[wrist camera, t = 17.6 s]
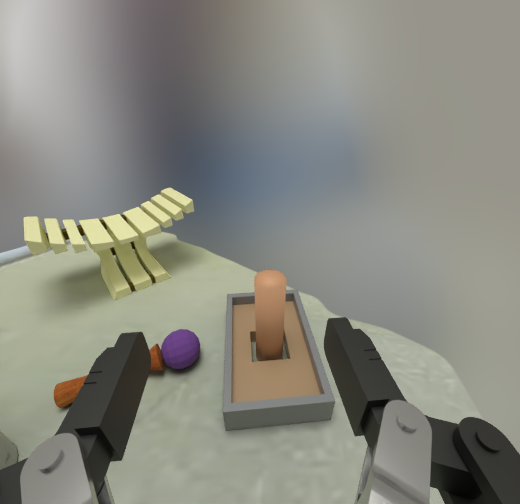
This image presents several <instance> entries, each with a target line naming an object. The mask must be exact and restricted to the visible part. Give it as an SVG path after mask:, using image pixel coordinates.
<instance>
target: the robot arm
mask: <svg viewBox="0 0 520 504" xmlns="http://www.w3.org/2000/svg"><path fill="white" fill-rule="evenodd" d="M324 350H325V355H326V358H327V361H328V363H329V366H330V369H331V372H332V374H333V377H334V380H335V383H336V385H337V388H338V391H339V394H340V396H341V399H342V402H343V405H344V408H345V410H346V413H347V416H348V419H349V421H350V424H351V427H352V430H353V432H354V435H355V436H362V435H364V436H365V439H366V441H367V444H368V447H367V450H366V455H365V459H364V464H363V468H362V473H361V477H360V481H359V486H358V490H357V495H356V499H355V503H354V504H430V503H429V495H430V487H433V488H436V489H438V490H439V492H440V494H441V497H442V499H443V501H444V503H445V504H520V454H519V453H518V452H517V451H516V449H515V448H514V447H513V445H512V444H511V443H510V441H509V440H508V439H507V438H506V437H505V435H504V434H502V433H501V432H500V431H499V430H498V429H497V428H496V427H494V426H493V425H491V424H489V423H488V422H486V421H484V420H481V419H479V418H474V417H467V418H464V419H463V420H462V421H461V422H460V423H459V424H455V423H451V422H447V421H443V420H439V419H435V418H431V417H428V416H426V415H424V414H423V413H422V412H421V411H420V410H419V409H418V408H417V407H415V406H414V405H412V404H410V403H408V402H407V401H406V399H405V398H404V396H403V395H402V393H401V391H400V390H399V388H398V386H397V384H396V383H395V381H394V379H393V377H392V376H391V374H390V372H389V371H388V369H387V367H386V365H385V364H384V362H383V360H381V357H380V355H379V353H378V351H376V348H375V346H374V344H373V343H372V341H371V339H370V338H369V337H368V336H367V335H366V334H365V333H364V332H363V331H362V330H361V329H353V328H352V326H351V324H350V322H349V321H348V319H347V318H346V317H343V318H329V319H328V321H327V327H326V332H325V338H324ZM150 368H151V354H150V351H149V349H148V346H147V343H146V340H145V337H144V335H143V333H142V332H132V333H122V334H121V335H120V336H119V338H118V340H117V342H116V344H115V346H114V347H110V348H107V349H106V350H105V351H104V352H103V353H102V354H101V355H100V356H99V357H98V358H97V359H96V361H95V362H94V364H93V366H92V368H91V370H90V372H89V375H87V377H86V379H85V381H84V385H83V386H82V387H81V389H80V390H79V392H78V394H77V396H76V398H75V400H74V402H73V403H72V405H71V407H70V409H69V411H68V413H67V415H66V417H65V418H64V420H63V422H62V424H61V426H60V428H59V429H58V431H57V433H56V434H55V435H54V436H53V437H51V438H49V439H48V440H46V441H45V442H43V443H42V444H41V445H40V446H38V447H37V448H36V449H35V450H34V451H33V453H32V454H31V455H30V456H29V458H26V459H24V460H22V461H20V462H17V458H18V452H17V448H16V446H15V445H14V443H13V442H11V441H10V440H9V439H8V438H7V437H6V436H5V435H4V434H3V433H2V432H1V431H0V504H115V503H114V499H113V496H112V493H111V489H110V486H109V483H108V480H107V477H106V473H107V470H108V467H109V464H110V462H111V461H120V460H122V458H123V455H124V452H125V449H126V445H127V442H128V439H129V436H130V433H131V429H132V426H133V423H134V420H135V417H136V413H137V410H138V407H139V404H140V401H141V397H142V394H143V391H144V388H145V385H146V381H147V378H148V375H149V372H150Z"/></svg>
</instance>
